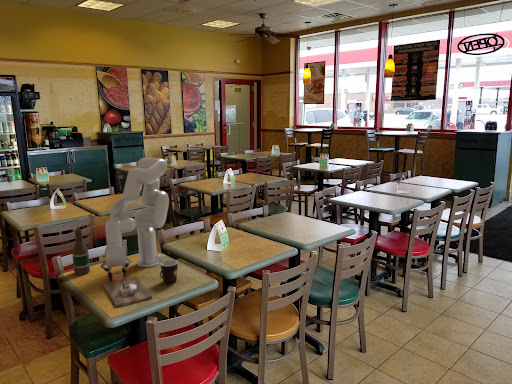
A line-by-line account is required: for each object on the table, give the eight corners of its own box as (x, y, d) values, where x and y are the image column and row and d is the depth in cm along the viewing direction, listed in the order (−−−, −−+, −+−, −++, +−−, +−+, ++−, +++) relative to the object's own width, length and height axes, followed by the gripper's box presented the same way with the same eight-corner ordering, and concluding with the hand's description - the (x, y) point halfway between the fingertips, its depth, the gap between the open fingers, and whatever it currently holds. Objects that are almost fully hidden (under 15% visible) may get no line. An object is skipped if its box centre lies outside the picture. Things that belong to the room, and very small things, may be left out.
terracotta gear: (121, 275, 207) (121, 269, 207) (124, 279, 202) (124, 273, 202) (110, 277, 204) (109, 272, 204) (112, 282, 199) (112, 276, 198)
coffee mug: (172, 276, 205) (171, 258, 203) (182, 281, 199) (181, 262, 197) (152, 283, 197) (151, 264, 195) (161, 288, 191) (160, 269, 189)
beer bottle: (74, 276, 206) (70, 232, 201) (74, 271, 212) (69, 228, 208) (90, 274, 209) (86, 230, 204) (89, 268, 216) (85, 226, 211)
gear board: (136, 278, 202) (135, 268, 201) (152, 298, 181) (151, 286, 180) (103, 286, 194) (102, 275, 193) (116, 307, 172) (115, 295, 171)
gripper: (129, 239, 207) (132, 271, 211) (95, 245, 198) (98, 279, 202) (133, 243, 201) (136, 276, 204) (98, 249, 192) (101, 284, 195)
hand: (117, 277), depth 203 cm, fingers closed on terracotta gear, 6 cm apart
